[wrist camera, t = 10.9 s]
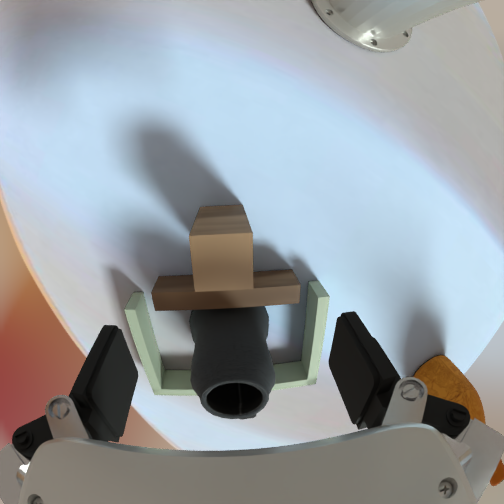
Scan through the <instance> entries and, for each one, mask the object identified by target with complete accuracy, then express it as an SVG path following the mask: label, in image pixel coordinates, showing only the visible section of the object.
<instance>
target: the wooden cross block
mask: <svg viewBox="0 0 504 504" xmlns="http://www.w3.org/2000/svg"><path fill="white" fill-rule="evenodd" d="M189 242H190V252H191V261H192V271H193V275H180V276H159V277H158V279H157V281H156V283H155V285H154V288H153V290H152V292H151V294H152V299H153V304H154V308H155V311H168V310H201V309H223V308H241V307H256V306H270V305H282V304H294V303H299V300H300V287H301V285H300V283H299V281H298V279H297V277H296V276H295V274H294V272H293V270H292V269H291V270H275V271H258V272H253V232H252V230H251V227H250V224H249V221H248V218H247V216H246V213H245V210H244V207H243V205H225V206H206V207H200V209H199V211H198V214H197V216H196V219H195V221H194V224H193V227H192V229H191V232H190V235H189Z"/></svg>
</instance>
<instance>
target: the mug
mask: <svg viewBox="0 0 504 504" xmlns="http://www.w3.org/2000/svg"><path fill="white" fill-rule="evenodd" d="M189 322H190V327H191V333H192V337H193V341H194V342H195V350H194V355H193V360H192V368H191V379H190V381H191V385H192V389H193V390H194V391H195V393H196V394H197V395H198V396H199V397H200V401H201V404H202V406H203V407H204V408H205V409H206V410H207V411H208V412H209V413H211V414H213V415H215V416H218V417H221V418H228V419H247V418H254V417H256V413H258V412H260V411H261V410H262V409H263V408H264V407H265V406H266V404H267V402H268V400H269V393H270V392H271V390H272V388H273V386H274V385H275V376H276V375H275V371H274V367H273V363H272V358H271V355H270V353H269V350H268V347H267V343H266V338H267V336H268V327H269V316H268V314H267V311H266V308H265V307H264V306H256V307H241V308H223V309H201V310H192V312H191V316H190V321H189Z"/></svg>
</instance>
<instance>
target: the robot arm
mask: <svg viewBox="0 0 504 504" xmlns="http://www.w3.org/2000/svg"><path fill="white" fill-rule="evenodd" d="M311 1H312V3H313V6H314V8H315V9H316V11H317V13H318V14H319V16H320V17H321V18H322V19H323V20H324V22H325V23H326V24H327V25H328V26H329V27H330V28H331V29H333V30H334V31H335V32H336V33H337V34H339V35H340V36H341V37H343V38H344V39H346V40H348V41H349V42H351V43H353V44H355V45H357V46H359V47H361V48H364V49H367V50H371V51H375V52H392V51H395V50H398V49H400V48H402V47H404V46H405V45H406V44H407V43H408V42H409V40H410V38H411V34H412V27H414V26H417V25H419V24H421V23H423V22H426V21H428V20H430V19H433V18H435V17H438V16H440V15H443V14H445V13H448V12H450V11H453V10H456V9H458V8H461V7H464V6H467V5H470V4H473V3H477V2H480V1H483V0H311ZM329 367H330V370H331V372H332V375H333V377H334V379H335V382H336V384H337V387H338V389H339V392H340V394H341V397H342V399H343V401H344V404H345V406H346V409H347V411H348V414H349V416H350V419H351V421H352V423H353V424H356V425H357V427H358V430H359V429H363V428H366V427H367V428H368V429H366V430H361V431H358V432H354V433H350V434H346V435H341V436H337V437H332V438H327V439H322V440H317V441H312V442H306V443H300V444H294V445H287V446H279V447H271V448H261V449H248V450H230V451H188V450H169V449H156V448H147V447H139V446H131V445H124V444H116V443H110V442H108V441H114V442H119V437H122V436H123V433H124V429H125V425H126V421H127V417H128V413H129V409H130V405H131V401H132V397H133V394H134V390H135V386H136V383H137V379H138V371H137V368H136V366H135V364H134V361H133V359H132V356H131V354H130V351H129V349H128V346H127V343H126V341H125V338H124V335H123V333H122V330H121V329H118V327H117V326H115V325H104V326H103V328H102V329H101V331H100V333H99V335H98V337H97V339H96V341H95V343H94V345H93V347H92V348H91V350H90V352H89V354H88V356H87V358H86V360H85V362H84V364H83V366H82V368H81V371H80V373H79V375H78V377H77V379H76V381H75V383H74V386H73V388H72V390H71V392H70V394H69V397H68V396H65V395H58V396H55V397H53V398H52V399H50V400H49V401H48V403H47V405H46V408H45V413H46V415H44V416H42V417H40V418H38V419H36V420H34V421H32V422H30V423H28V424H25V425H23V426H22V427H19V428H18V429H17V430H16V431H15V432H14V434H13V438H12V443H13V444H12V445H11V444H10V443H8V444H7V445H6V446H5V447H4V448H3V449H2V450H1V451H0V498H1V499H2V501H3V503H4V504H478V503H477V502H478V501H479V499H480V497H481V496H482V494H483V492H484V490H485V489H486V487H487V485H488V483H489V481H490V480H491V478H492V476H493V474H494V472H495V470H496V468H497V465H498V463H499V461H500V459H501V456H502V454H503V452H504V436H503V435H502V434H500V433H499V432H497V431H495V430H494V429H492V428H490V427H489V426H487V425H486V424H484V423H482V422H481V421H479V420H477V419H476V418H474V419H473V420H472V419H470V413H469V411H468V409H467V408H466V407H465V406H463V405H461V404H459V403H455V402H452V401H448V400H445V399H442V398H439V397H435V396H432V395H429V394H428V390H427V387H426V385H425V384H424V383H423V382H422V381H421V380H420V379H417V378H415V377H405V378H402V379H401V378H400V376H399V374H398V373H397V371H396V370H395V368H394V366H393V365H392V363H391V362H390V360H389V359H388V357H387V355H386V354H385V352H384V351H383V349H382V348H381V346H380V345H379V343H378V342H377V340H376V339H375V338H373V337H372V336H371V335H370V333H369V332H368V330H367V328H366V327H365V325H364V324H363V322H362V321H361V319H360V318H359V316H358V315H357V314H356V312H354V311H353V312H346V313H342V314H341V316H340V317H338V318H337V322H336V327H335V333H334V338H333V343H332V347H331V352H330V357H329Z"/></svg>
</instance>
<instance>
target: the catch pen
mask: <svg viewBox="0 0 504 504" xmlns="http://www.w3.org/2000/svg"><path fill="white" fill-rule="evenodd" d="M329 297H330V296H329V295H328V293H327V292H326V290H325V289H324V287H323V286H322V285H321V283H320V282H319V281H309V282H308V294H307V306H306V318H305V328H304V338H303V348H302V356H301V361H297V362H290V363H282V364H273V367H274V371H275V375H276V376H275V385H274V386H273V388H272V390H279V389H286V388H293V387H300V386H306V385H312V384H316V379H317V374H318V369H319V363H320V358H321V352H322V346H323V340H324V333H325V327H326V320H327V313H328V305H329ZM124 310H125V314H126V317H127V320H128V324H129V327H130V330H131V333H132V336H133V339H134V342H135V345H136V348H137V351H138V354H139V356H140V359H141V362H142V364H143V367H144V370H145V372H146V375H147V377H148V380H149V382H150V385H151V387H152V390H153V392H154V394H155V395H178V396H192V395H197V394H196V393H195V391H194V390H193V389H192V385H191V381H190V379H191V370H165V369H164V366H163V362H162V359H161V356H160V353H159V349H158V346H157V343H156V339H155V336H154V332H153V329H152V325H151V321H150V317H149V313H148V309H147V305H146V301H145V297H144V293H143V292H134V293H133V294H132V296H131V298H130V300H129V302H128V304H127V305H126V307H125V309H124Z"/></svg>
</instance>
